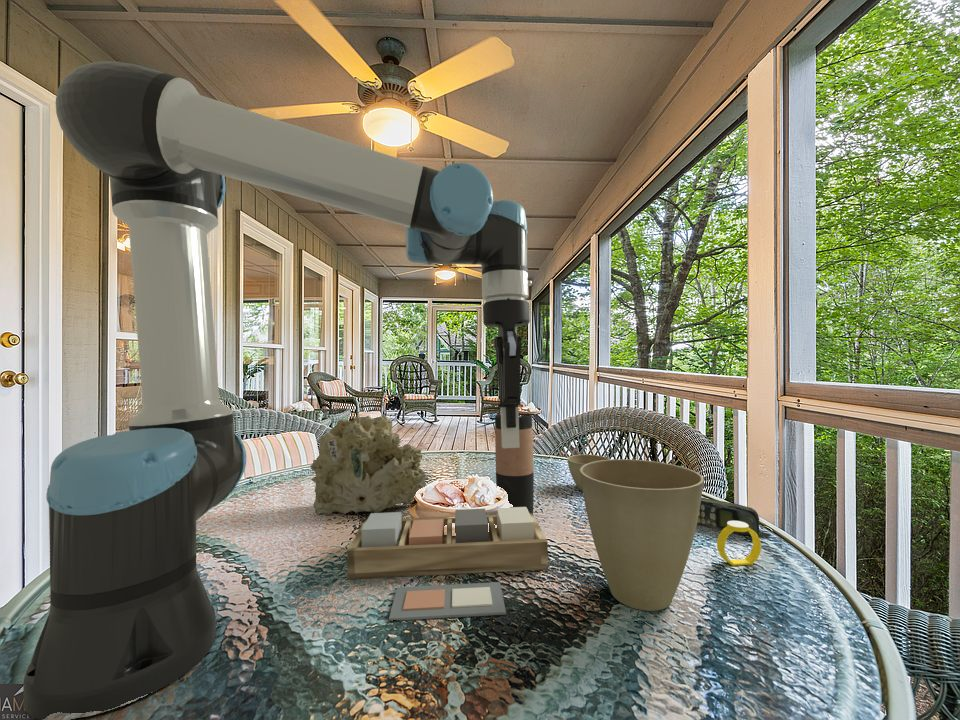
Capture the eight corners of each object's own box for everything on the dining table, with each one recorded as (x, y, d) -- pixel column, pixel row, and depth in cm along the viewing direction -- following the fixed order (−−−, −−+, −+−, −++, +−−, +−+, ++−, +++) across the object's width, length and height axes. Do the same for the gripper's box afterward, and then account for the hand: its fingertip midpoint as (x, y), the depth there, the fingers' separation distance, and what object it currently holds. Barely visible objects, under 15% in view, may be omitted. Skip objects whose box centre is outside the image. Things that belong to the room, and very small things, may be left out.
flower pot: (566, 493, 97) (565, 462, 97) (569, 481, 107) (569, 453, 107) (611, 496, 94) (610, 464, 94) (610, 484, 104) (610, 455, 104)
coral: (433, 502, 93) (431, 412, 93) (425, 519, 83) (423, 418, 83) (323, 502, 94) (321, 414, 94) (302, 518, 84) (300, 419, 85)
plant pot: (628, 643, 45) (624, 494, 45) (562, 577, 59) (560, 464, 59) (737, 617, 49) (733, 480, 49) (651, 560, 63) (649, 455, 63)
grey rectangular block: (488, 544, 63) (488, 524, 63) (455, 545, 63) (455, 525, 63) (485, 526, 70) (485, 508, 70) (455, 527, 70) (455, 509, 70)
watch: (727, 571, 60) (723, 529, 60) (715, 562, 63) (711, 522, 63) (766, 565, 61) (762, 525, 61) (753, 557, 64) (749, 518, 64)
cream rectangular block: (534, 541, 64) (533, 522, 64) (501, 543, 64) (501, 523, 64) (526, 524, 71) (526, 506, 71) (497, 525, 71) (496, 508, 71)
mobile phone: (672, 495, 80) (765, 511, 69) (677, 492, 82) (769, 506, 71) (673, 522, 79) (767, 542, 69) (679, 517, 82) (771, 536, 71)
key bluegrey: (395, 548, 63) (395, 528, 63) (361, 550, 62) (361, 529, 62) (401, 530, 70) (401, 512, 70) (371, 531, 69) (370, 513, 69)
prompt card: (506, 614, 50) (505, 610, 50) (388, 621, 50) (388, 616, 50) (499, 584, 57) (499, 580, 57) (397, 589, 57) (397, 585, 57)
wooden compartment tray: (548, 569, 61) (547, 541, 61) (347, 579, 60) (347, 551, 60) (533, 535, 73) (532, 513, 73) (365, 543, 72) (365, 520, 72)
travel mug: (503, 523, 80) (501, 418, 80) (491, 510, 87) (489, 413, 87) (540, 518, 82) (538, 416, 82) (526, 506, 89) (524, 412, 89)
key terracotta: (442, 555, 63) (442, 535, 63) (409, 557, 63) (408, 537, 63) (443, 536, 70) (443, 518, 70) (413, 538, 70) (413, 520, 70)
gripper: (536, 293, 61) (542, 454, 61) (522, 306, 74) (526, 439, 74) (485, 295, 61) (491, 457, 61) (480, 307, 74) (484, 440, 74)
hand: (510, 446), depth 67 cm, fingers closed
